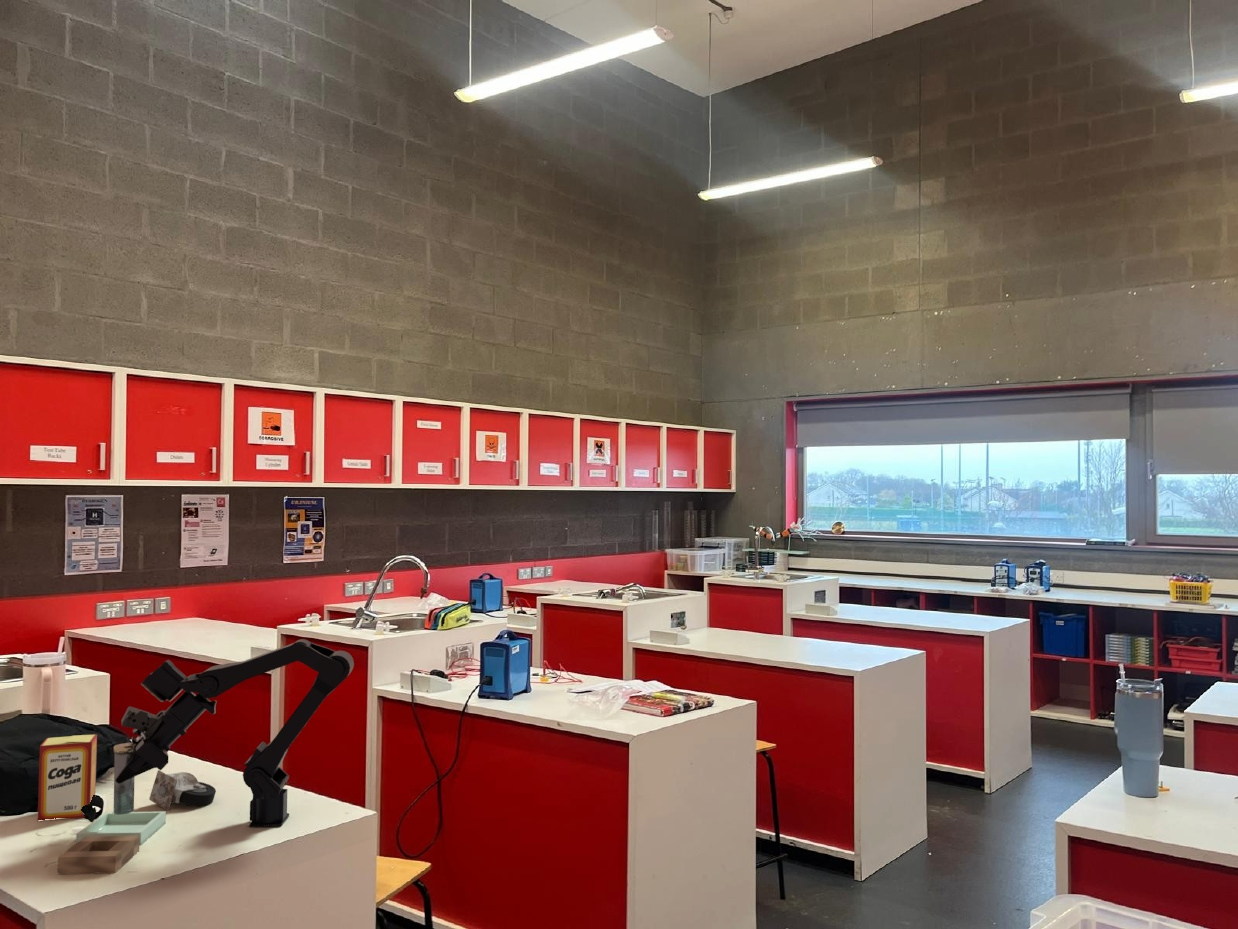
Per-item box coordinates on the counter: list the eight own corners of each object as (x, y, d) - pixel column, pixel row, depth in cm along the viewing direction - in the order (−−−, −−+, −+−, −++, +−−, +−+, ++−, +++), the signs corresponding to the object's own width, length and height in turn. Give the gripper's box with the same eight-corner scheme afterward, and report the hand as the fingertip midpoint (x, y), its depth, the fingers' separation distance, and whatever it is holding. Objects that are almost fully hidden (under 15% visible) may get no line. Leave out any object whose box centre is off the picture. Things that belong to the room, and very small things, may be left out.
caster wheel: (217, 812, 206) (179, 819, 197) (185, 794, 211) (146, 800, 202) (226, 783, 206) (189, 788, 198) (193, 765, 212) (155, 770, 203)
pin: (138, 808, 188) (139, 742, 188) (129, 814, 184) (131, 748, 184) (117, 808, 187) (119, 743, 188) (108, 815, 183) (110, 748, 184)
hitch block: (139, 851, 177) (139, 835, 177) (115, 873, 167) (115, 856, 167) (84, 852, 176) (85, 836, 176) (57, 874, 166) (57, 857, 166)
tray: (165, 823, 192) (165, 811, 192) (140, 845, 180) (140, 832, 180) (105, 824, 191) (105, 812, 191) (76, 847, 179) (76, 833, 179)
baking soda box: (37, 821, 192) (40, 744, 193) (44, 811, 198) (47, 736, 199) (89, 816, 195) (91, 740, 196) (94, 806, 202) (97, 732, 202)
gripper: (145, 684, 196) (84, 743, 190) (150, 701, 180) (84, 767, 174) (186, 717, 200) (127, 776, 194) (194, 737, 184) (130, 802, 178)
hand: (116, 779), depth 185 cm, fingers closed on pin, 4 cm apart
